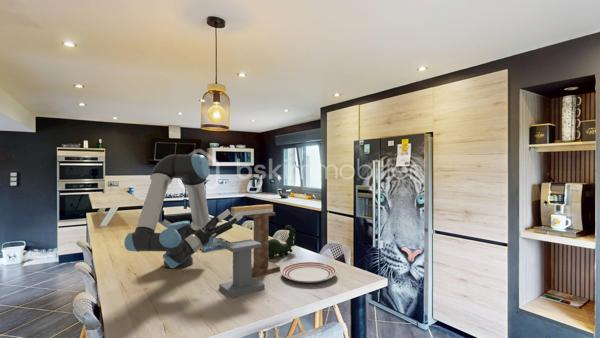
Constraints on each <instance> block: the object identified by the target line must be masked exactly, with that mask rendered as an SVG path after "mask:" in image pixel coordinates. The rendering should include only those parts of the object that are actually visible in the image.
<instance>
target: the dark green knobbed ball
mask: <svg viewBox="0 0 600 338" xmlns="http://www.w3.org/2000/svg"><path fill="white" fill-rule="evenodd" d="M287 229H288V236H287V240H286V241H285V243H282V242H280V241H279V240H278V239H276V238H271V239H268V259H269V258H270V259H274V258H275V256H276V255H279V256H280V257H283V256H284V255H285V256H288V255H289V253H292V252H293V249H292V247H295V246H296V244H295V243H294V241H296V238H295V237H296V236H297V234H296V233H295V232H296V231H297V230H296V229H295V228H293V227H292V225H290V224H287V225H285V227H284V230H287Z"/></svg>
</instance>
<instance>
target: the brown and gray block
mask: <svg viewBox="0 0 600 338" xmlns="http://www.w3.org/2000/svg"><path fill="white" fill-rule="evenodd" d="M239 212H240V213H241V215H242V216H246V215H253V214H263V213H273V212H274V204H255V205H245V206H244V205H243V206H231V207H230V213H231V214H230V216H232V217H234V216H235V215H237V214H238V213H239Z"/></svg>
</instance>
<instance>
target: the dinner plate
mask: <svg viewBox="0 0 600 338" xmlns="http://www.w3.org/2000/svg"><path fill="white" fill-rule="evenodd" d="M337 271H338V270H337V268H336V267H334V266H333V265H330V264H328V263H324V262H317V261H302V262H294V263H291V264H289V265H288V264H287V265H286V266H284V267H283V268H282V269H280V273H281V275H282V276H283V277H284V278H286V279H288V280H291V281H294V282H298V283H305V284H314V283H320V282H324V281H327V280H330V279H331V278H333V277H334V276H336V275H337Z"/></svg>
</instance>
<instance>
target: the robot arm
mask: <svg viewBox="0 0 600 338" xmlns="http://www.w3.org/2000/svg"><path fill="white" fill-rule="evenodd" d="M209 175H210V165H209V161H208V159H207V157H206V156H205V155H202V154H197V153H195V154H194V153H193V154H176V153H175V154H174V153H173V154H169V155H167V156H164V157H163V158H162V159H161V160H159V161H158V162H157V163H156V165H155V166H154V168H153V169H152V171H151V174H150V175H149V176H150V177H149V179H150V184H149V187H148V191H147V193H146V196H145V199H144V201H143V202H144V203H143V205H142V209H141V211H140V214H139V218H138V220H137V224H136V226H135V229H134V232H129V233H127V234H126V236H125V239H124V243H123V244H124V247H125V250H126V251H128V252H134V253H135V252H137V253H139V252H165V253H164V254H162V259H163V267H164V268H166V269H181V268H182V269H183V268H186V267H189V266H192V265H193V263H194V258H193V256H192V255H194V254H195V253H198V251H199V250H201V248H203V247H204V246H213V245H214V244H215V242H216V239H217V237H218V236H220V235H222V234H223V233H225V232H228V231H229V230H231V229H233V228H234V225H235V224H236V223H237V222H239V221H240V220H241V219H242V218H243V219H244V217H243V216H244V215H243V216H242V215H241V213H240V212H239V213H238V214H237V215H235V216H232V217H231V218H230V219H229V220H228V221H226V222H224V223H222V224H219V225H218V223H219V222H221V221H223V220H224V219H226V218H227V217H229V216H231V210H230V209H228V208H227V209H226V210H225V211H223V212H222V213H220V214H219V215H214V216H213V217H212V218H210V215H209V209H208V200H207V195H206V187H205V183H206V181H207V179H208V178H209ZM173 179H181V181H182V182H181V183H182V184H183V185H184V186H186V187H185V188H186V190H187V197H188V203H189V209H190V213H191V219H192V221H191V222H190V220H182V221H177V222H176V221H175V222H173V223H170V224H168V225H167V228H166V229H163V230H162V231H161V232H155V231H156V228H157V225H158V221H159V218H160V216H161V215H160V214H161V211H162V207H163V204H164V200H165V197H166V194H167V190H168V187H169V185H170V184H171V183H172V182H173Z"/></svg>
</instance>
